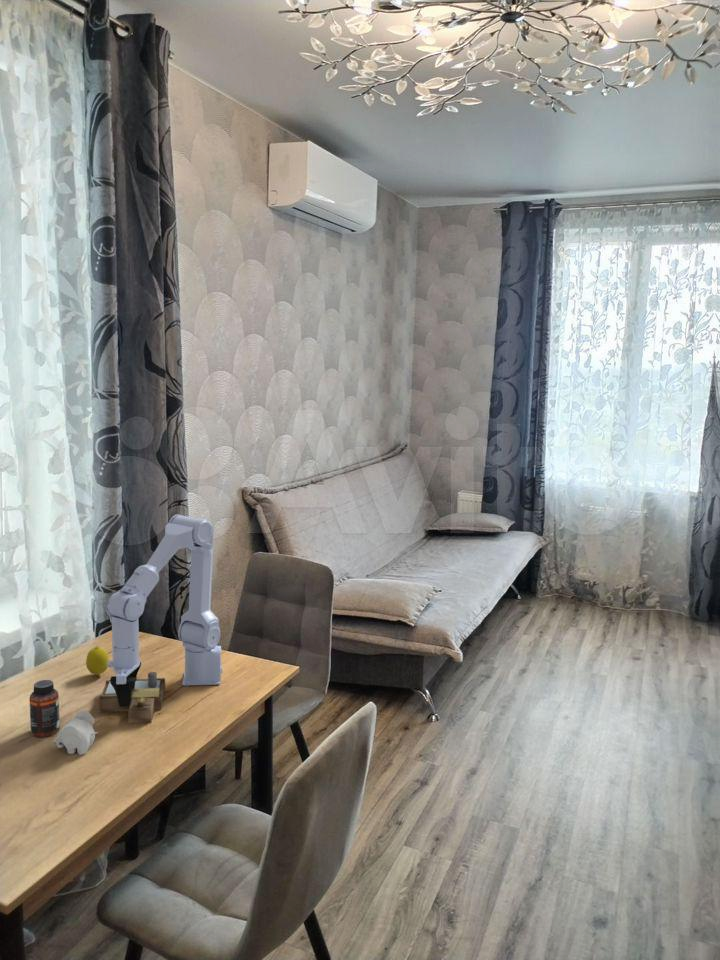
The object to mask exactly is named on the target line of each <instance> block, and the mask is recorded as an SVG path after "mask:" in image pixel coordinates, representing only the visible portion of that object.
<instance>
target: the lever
mask: <svg viewBox="0 0 720 960" xmlns="http://www.w3.org/2000/svg"><path fill="white" fill-rule="evenodd" d="M159 694H160V691H159V688H150V689H132V695H131V698H133V697H138V706H144V705H145V697H159Z"/></svg>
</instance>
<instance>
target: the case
mask: <svg viewBox="0 0 720 960" xmlns="http://www.w3.org/2000/svg"><path fill="white" fill-rule="evenodd" d="M157 680H160V686H159V691H160V694H159V697H145V705H144V706H138V697H133V698H131V701H130V705H129V706H124V707H120V706H119V703H118V699H117V695H116V694H113V695H105V692H106V690H107V687H108V685H109V682H110V679H106V680H105V685H104V688H103V690H102V692H101V694H100V695H99V699H98V701H99V702H98V705H99V706H98V707H99V710H98V711H99V713H106V712H107V713H108V712H128V724H142V723H143V724H145V723H146V724H147V723H152V722H153V717H154V714H155V711H161V710H162V706H163V702H164V697H165V693H166V679H165V677H163V678H158V677H157ZM136 681H148V678H137V679H136Z"/></svg>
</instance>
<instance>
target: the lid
mask: <svg viewBox="0 0 720 960" xmlns="http://www.w3.org/2000/svg"><path fill="white" fill-rule="evenodd" d="M157 675H158V673H157V672H156V671H150V672H148V673H147V679H148V681H136V682H135V688H134V689H150V688H159V686H160V680H157V678H158V677H157ZM113 694H116V692H115V690H114V688H113V686H112V685H111V683H110V682H109V685H108V687H107V690H106V692H105V695H113Z"/></svg>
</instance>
